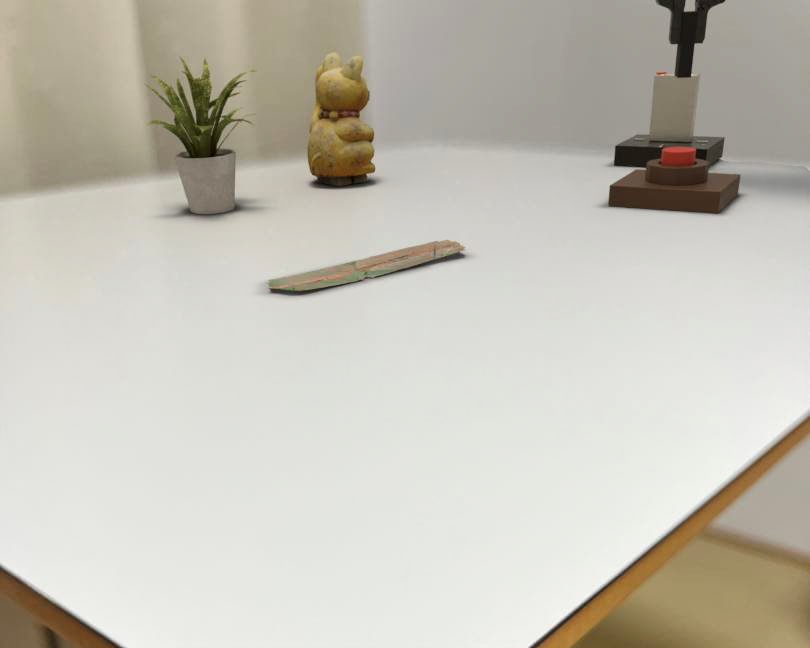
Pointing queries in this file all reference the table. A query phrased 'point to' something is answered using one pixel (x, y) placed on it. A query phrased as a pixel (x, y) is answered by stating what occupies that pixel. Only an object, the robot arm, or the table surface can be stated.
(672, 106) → the white upright block
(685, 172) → the switch block
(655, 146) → the dial panel
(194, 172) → the house plant
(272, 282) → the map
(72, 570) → the table surface
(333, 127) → the decorative figurine
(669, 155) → the power button
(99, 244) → the table surface
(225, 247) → the table surface
